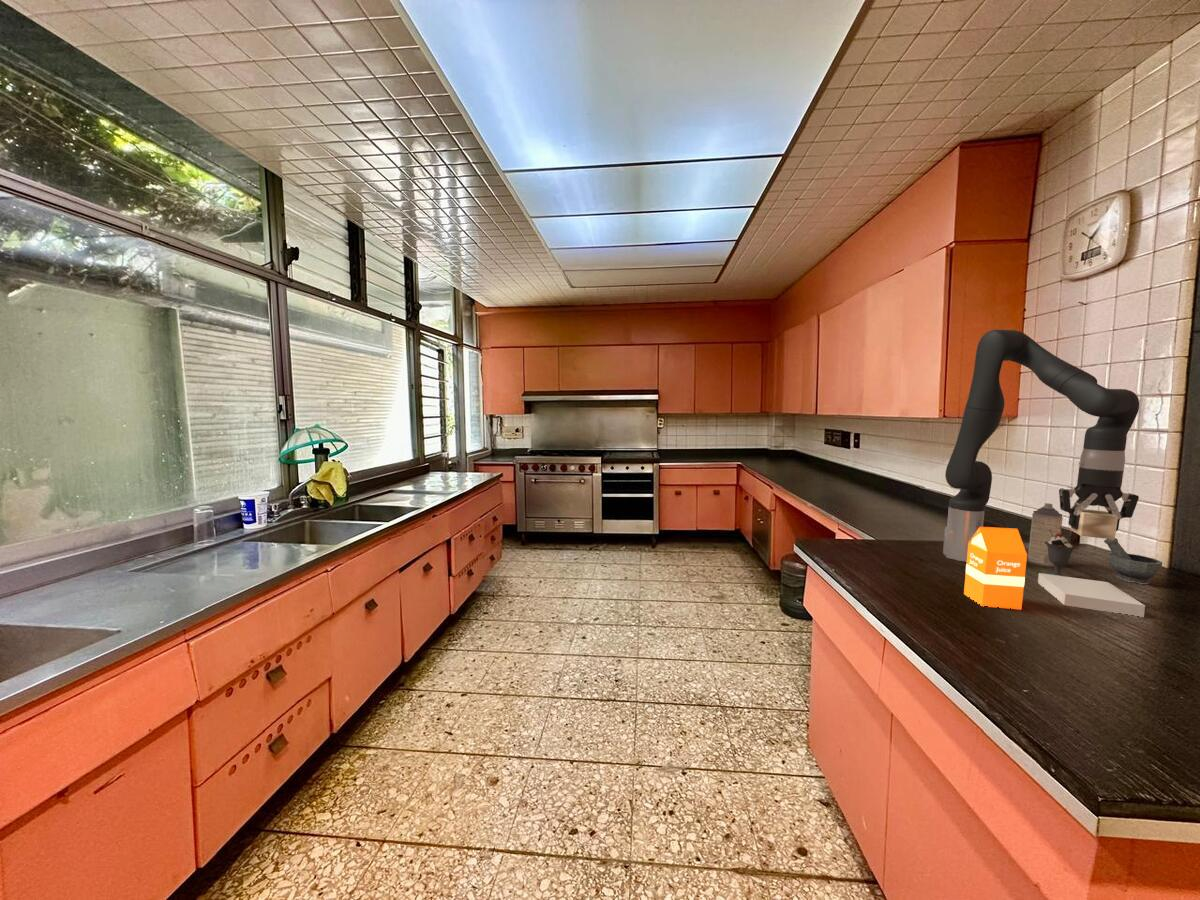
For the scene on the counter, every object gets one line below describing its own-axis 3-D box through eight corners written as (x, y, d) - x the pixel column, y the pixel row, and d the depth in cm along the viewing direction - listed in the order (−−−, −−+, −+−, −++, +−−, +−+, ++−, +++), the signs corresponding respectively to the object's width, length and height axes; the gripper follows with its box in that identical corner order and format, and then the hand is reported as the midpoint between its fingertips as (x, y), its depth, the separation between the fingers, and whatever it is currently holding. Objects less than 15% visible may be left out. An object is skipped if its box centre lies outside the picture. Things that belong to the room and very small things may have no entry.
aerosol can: (1062, 566, 138) (1069, 505, 137) (1047, 568, 137) (1054, 506, 135) (1037, 559, 145) (1043, 501, 143) (1022, 560, 144) (1028, 502, 142)
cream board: (1064, 605, 111) (1065, 593, 111) (1037, 582, 125) (1038, 572, 125) (1143, 617, 105) (1145, 605, 105) (1106, 592, 119) (1107, 582, 119)
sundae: (1057, 572, 133) (1063, 525, 132) (1079, 581, 126) (1085, 532, 125) (1034, 572, 134) (1039, 525, 132) (1055, 580, 127) (1060, 531, 126)
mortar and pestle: (1154, 580, 127) (1160, 541, 126) (1163, 590, 121) (1169, 548, 119) (1097, 570, 135) (1101, 533, 134) (1102, 579, 128) (1107, 540, 127)
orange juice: (1022, 609, 109) (1030, 533, 107) (982, 606, 111) (989, 530, 109) (1000, 596, 117) (1007, 524, 115) (963, 593, 118) (969, 522, 116)
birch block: (1081, 535, 111) (1084, 513, 111) (1070, 529, 117) (1073, 508, 116) (1114, 539, 108) (1118, 516, 108) (1102, 533, 114) (1105, 511, 113)
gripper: (1068, 466, 111) (1060, 530, 113) (1152, 471, 104) (1141, 538, 106) (1056, 463, 117) (1048, 523, 119) (1133, 467, 110) (1124, 530, 112)
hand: (1092, 530), depth 112 cm, fingers closed on birch block, 6 cm apart
